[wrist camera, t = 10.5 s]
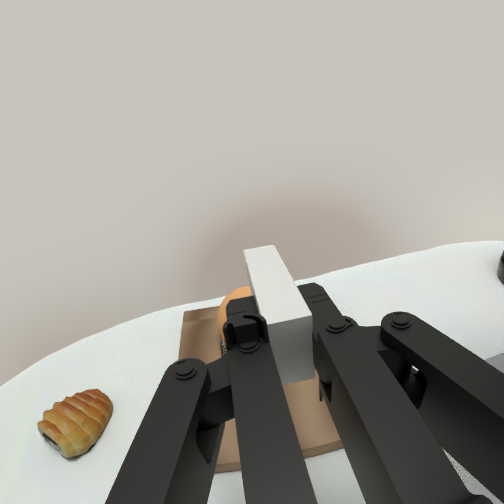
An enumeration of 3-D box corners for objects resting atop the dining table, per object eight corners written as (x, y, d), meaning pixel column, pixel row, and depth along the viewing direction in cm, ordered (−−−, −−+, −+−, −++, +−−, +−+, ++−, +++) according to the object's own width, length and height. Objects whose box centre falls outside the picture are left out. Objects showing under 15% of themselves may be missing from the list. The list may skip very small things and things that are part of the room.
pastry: (90, 393, 31) (77, 369, 30) (129, 410, 29) (116, 386, 27) (42, 441, 23) (24, 418, 22) (78, 469, 21) (58, 446, 19)
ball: (296, 313, 31) (296, 357, 36) (273, 264, 37) (276, 310, 42) (217, 333, 30) (229, 374, 34) (206, 280, 36) (218, 324, 41)
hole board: (319, 296, 46) (318, 287, 46) (402, 426, 22) (406, 416, 22) (186, 320, 45) (184, 311, 44) (175, 475, 21) (169, 467, 20)
